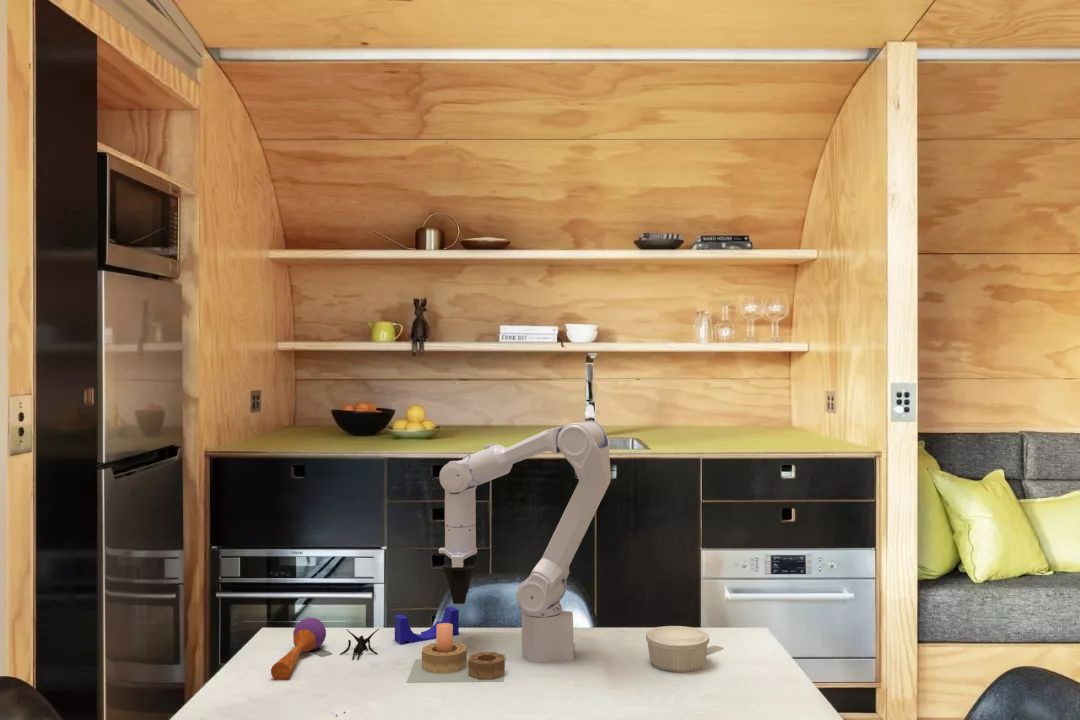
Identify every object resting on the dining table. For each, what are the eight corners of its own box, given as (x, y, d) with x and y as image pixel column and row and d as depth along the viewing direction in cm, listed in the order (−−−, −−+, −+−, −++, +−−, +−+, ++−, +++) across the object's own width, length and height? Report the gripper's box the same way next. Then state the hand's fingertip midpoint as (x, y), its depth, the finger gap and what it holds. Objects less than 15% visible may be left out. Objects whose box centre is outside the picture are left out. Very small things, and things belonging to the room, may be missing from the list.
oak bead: (467, 658, 156) (467, 641, 156) (464, 673, 148) (464, 655, 148) (425, 659, 156) (425, 642, 156) (419, 673, 148) (419, 655, 148)
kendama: (259, 658, 148) (295, 616, 168) (267, 691, 149) (302, 646, 169) (293, 651, 148) (326, 610, 168) (301, 685, 149) (332, 640, 169)
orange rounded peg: (452, 663, 154) (453, 622, 154) (451, 668, 151) (452, 627, 151) (436, 663, 153) (437, 622, 154) (435, 668, 151) (436, 627, 151)
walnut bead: (504, 667, 151) (504, 652, 151) (503, 679, 145) (503, 663, 145) (470, 667, 151) (470, 652, 151) (467, 679, 145) (467, 663, 145)
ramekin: (681, 680, 148) (681, 648, 148) (632, 663, 156) (632, 634, 156) (722, 665, 155) (722, 635, 155) (673, 650, 163) (673, 622, 164)
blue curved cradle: (449, 635, 174) (449, 604, 174) (458, 641, 170) (458, 610, 170) (391, 644, 168) (391, 613, 168) (400, 651, 164) (400, 619, 164)
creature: (377, 672, 156) (385, 648, 163) (376, 644, 154) (383, 622, 162) (333, 672, 156) (342, 649, 163) (331, 645, 154) (341, 622, 162)
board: (505, 663, 156) (505, 657, 156) (503, 687, 144) (503, 681, 144) (415, 664, 156) (415, 658, 156) (406, 688, 144) (406, 682, 144)
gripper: (442, 518, 171) (443, 588, 170) (434, 532, 156) (435, 608, 156) (479, 518, 171) (479, 588, 171) (474, 531, 156) (474, 608, 156)
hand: (460, 598), depth 163 cm, fingers open, 7 cm apart
